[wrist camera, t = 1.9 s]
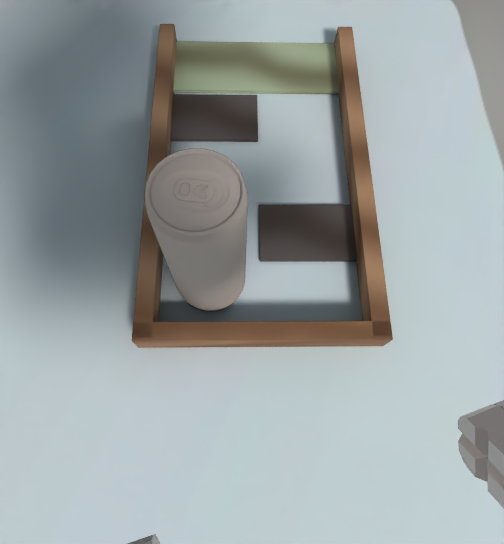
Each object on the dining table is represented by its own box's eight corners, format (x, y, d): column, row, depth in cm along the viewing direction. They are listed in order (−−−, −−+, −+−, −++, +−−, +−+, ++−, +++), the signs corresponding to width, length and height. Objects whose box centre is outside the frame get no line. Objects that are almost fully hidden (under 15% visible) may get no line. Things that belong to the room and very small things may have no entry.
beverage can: (240, 317, 30) (241, 242, 19) (171, 309, 30) (131, 230, 19) (248, 253, 32) (253, 151, 21) (182, 246, 32) (152, 140, 21)
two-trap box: (383, 346, 30) (392, 339, 28) (138, 347, 29) (131, 340, 27) (346, 46, 40) (352, 27, 38) (163, 44, 39) (160, 23, 37)
